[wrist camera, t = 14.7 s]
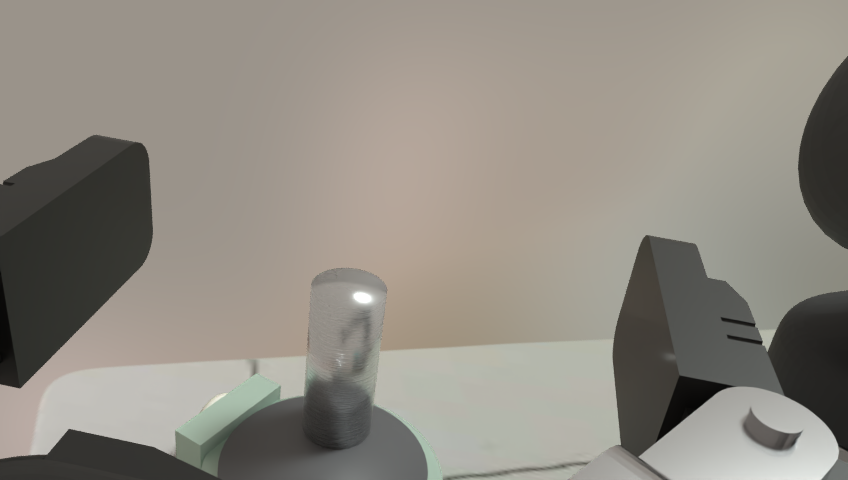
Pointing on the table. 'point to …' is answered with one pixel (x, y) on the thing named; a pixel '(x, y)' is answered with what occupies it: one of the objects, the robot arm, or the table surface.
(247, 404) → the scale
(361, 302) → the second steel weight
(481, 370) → the table surface
